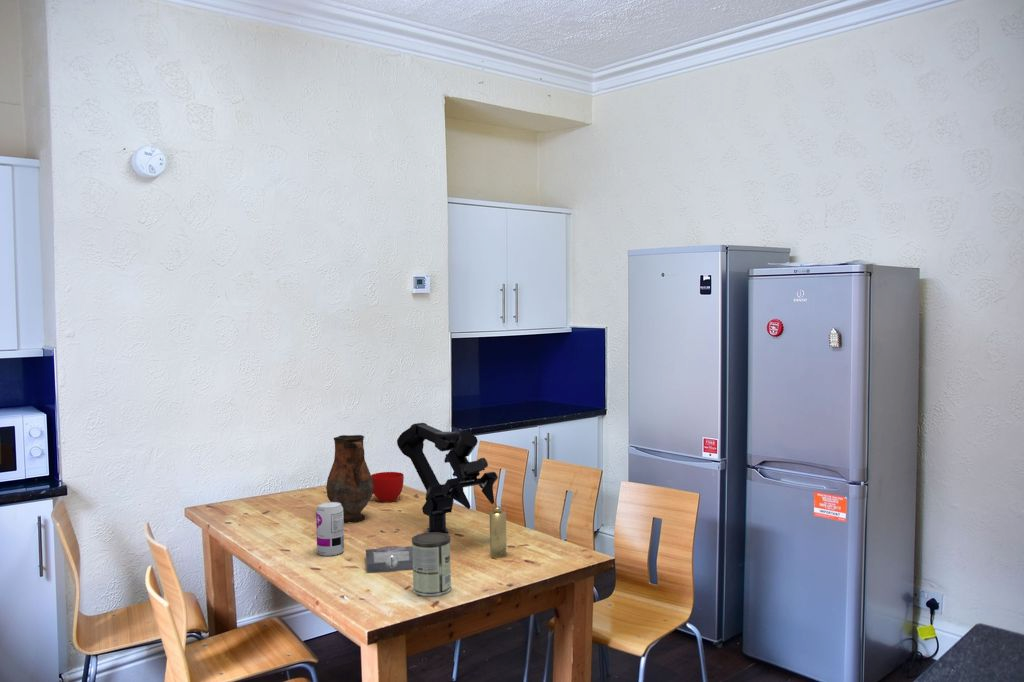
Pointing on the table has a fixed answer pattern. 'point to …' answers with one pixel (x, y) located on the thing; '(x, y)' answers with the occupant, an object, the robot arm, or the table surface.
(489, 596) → the table surface
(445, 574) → the coffee can
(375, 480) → the ceramic cup
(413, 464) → the robot arm
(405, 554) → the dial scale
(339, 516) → the supplement can
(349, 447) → the pitcher
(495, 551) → the brass weight
